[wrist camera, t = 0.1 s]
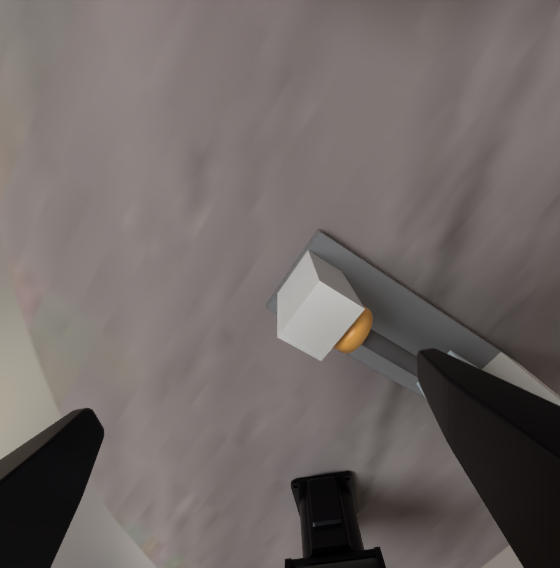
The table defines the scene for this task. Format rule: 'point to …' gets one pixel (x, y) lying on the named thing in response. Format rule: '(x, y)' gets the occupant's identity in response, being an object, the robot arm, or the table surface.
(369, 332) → the grey slide rail
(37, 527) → the robot arm
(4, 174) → the table surface
